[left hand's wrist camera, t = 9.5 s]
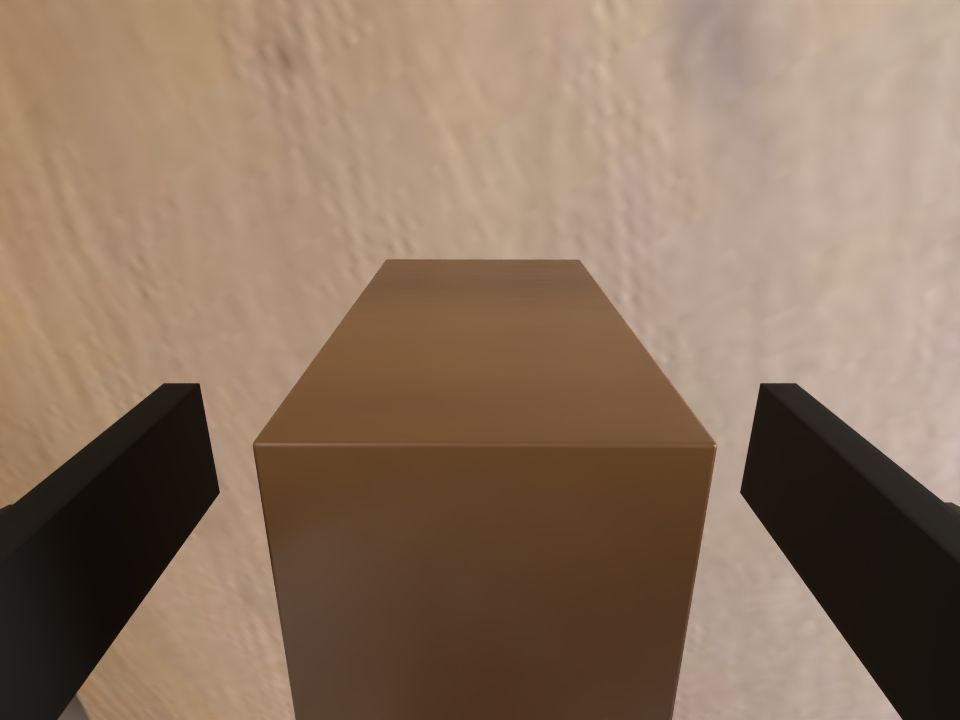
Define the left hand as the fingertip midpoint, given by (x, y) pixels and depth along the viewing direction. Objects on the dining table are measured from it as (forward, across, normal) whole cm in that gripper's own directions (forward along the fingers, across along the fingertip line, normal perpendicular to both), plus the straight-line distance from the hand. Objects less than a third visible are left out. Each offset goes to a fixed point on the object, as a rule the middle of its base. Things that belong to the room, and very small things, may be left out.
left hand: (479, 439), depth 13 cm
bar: (+2, 0, -9) cm, 9 cm away
